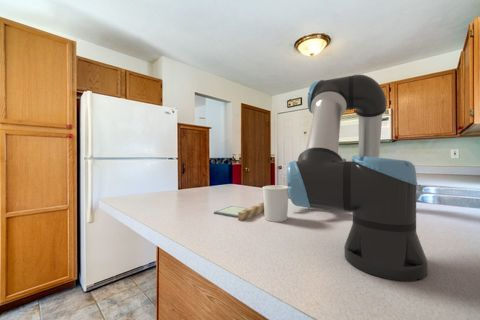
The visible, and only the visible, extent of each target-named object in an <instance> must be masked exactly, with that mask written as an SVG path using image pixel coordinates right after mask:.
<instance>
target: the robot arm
mask: <svg viewBox="0 0 480 320" xmlns="http://www.w3.org/2000/svg"><path fill="white" fill-rule="evenodd" d="M306 97H307V98H306V99H307V101H306V102H307V108H308V111H309V113H311V114H312V115H313V116H312V119H311V125H310V129H309V134H308V139H307V143H306V146H305V149H304V150H302V151H301V153H300V154H299V155H298V157H297V161H296V160H292V161H289V162H288V164H287V168H286V185H287V187H288V200H290V202H291V203H292V204H293V205H294V206H296V207H300V208H301V207H302V208H307V209H309V210H310V209H318V210H329V211H338V212H339V211H340V212H350V213H352V225H351V227H350V229H349V230H350V231H349V233H348V235H347V238H346V241H345V244H344V249H343V250H344V253H343V254H344V257H345V260H346V261H347V262H348V263H349V264H350V265H352V266H353V267H355V268H356V269H358V270H361V271H362V272H365V273H367V274H371V275H373V276H376V277H380V278H383V279H388V280H394V281H403V282H404V281H405V282H407V281H408V282H409V281H411V280H413V281H418V280H417V279H419V280H422V279H421V278H423V279H425V278H426V277H427V276H428V270H429V269H428V267H429V266H428V259H427V256H426V253H425V252H424V249H423V246H422V244H421V241H420V238H419V236H418V233H417V186H419V185H418V184H419V183H418V181H417V180H418V179H417V172H416V170H417V169H416V166H415V165H414V164H413V163H412V162H411V161H409V160H405V159H395V158H385V157H384V158H383V157H380V150H381V135H382V125H383V124H382V123H383V115H384V114H385V113H386V111H387V97H386V94H385V91H384V89H383V88H382V86H381V85H380V84H379V83H378V82H377V81H376V80H375V79H374V78H372V77H371V76H368V75H365V74H353V75H347V76H341V77H335V78H330V79H329V78H328V79H325V80H324V79H320V80H318V81H313V82H312V83H311V84H310V85H309V88H308V90H307V96H306ZM350 110H354V111H355V114H356V115H357V116H358V155H357V154H354V155H352V158H351V161H350V160H349V161H347V159H346V158H343V157H342V156H341V155H340V154H339V143H340V133H341V132H340V129H341V122H342V121H341V119H342V117H343V115H344V114H345V113H346V111H350ZM425 276H426V277H425Z"/></svg>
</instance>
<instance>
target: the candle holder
mask: <svg viewBox="0 0 480 320" xmlns="http://www.w3.org/2000/svg"><path fill="white" fill-rule="evenodd" d="M262 195H263V197H262V199H263V202H264V212H263V213H264V219H265V220H266V221H268V222H273V223H280V222H286V221H287V219H288V206H289V198H288V186H286V185H279V184H278V185H277V184H276V185H274V184H273V185H265V186H262Z"/></svg>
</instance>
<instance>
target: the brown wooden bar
mask: <svg viewBox="0 0 480 320" xmlns="http://www.w3.org/2000/svg"><path fill="white" fill-rule="evenodd" d="M247 208H248V209H245V210H243V211H240V212H238V218H237V220H238V221H241V222H244V221H246V220H248V219H251V218H252V217H255V216H257V215H259V214H261V213H264V201H263V202H260V203H258V204H256V205H253V206H251V207H247Z"/></svg>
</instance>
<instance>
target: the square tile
mask: <svg viewBox="0 0 480 320" xmlns="http://www.w3.org/2000/svg"><path fill="white" fill-rule="evenodd" d="M248 208H249V207H244V206H243V207H242V206H234V205H229V206H228V207H225V208H221V209H220V210H215V211H213V214H214V215H219V216H220V215H221V216H225V217H230V218H235V219H238V212H240V211H243V210H245V209H248Z"/></svg>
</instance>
